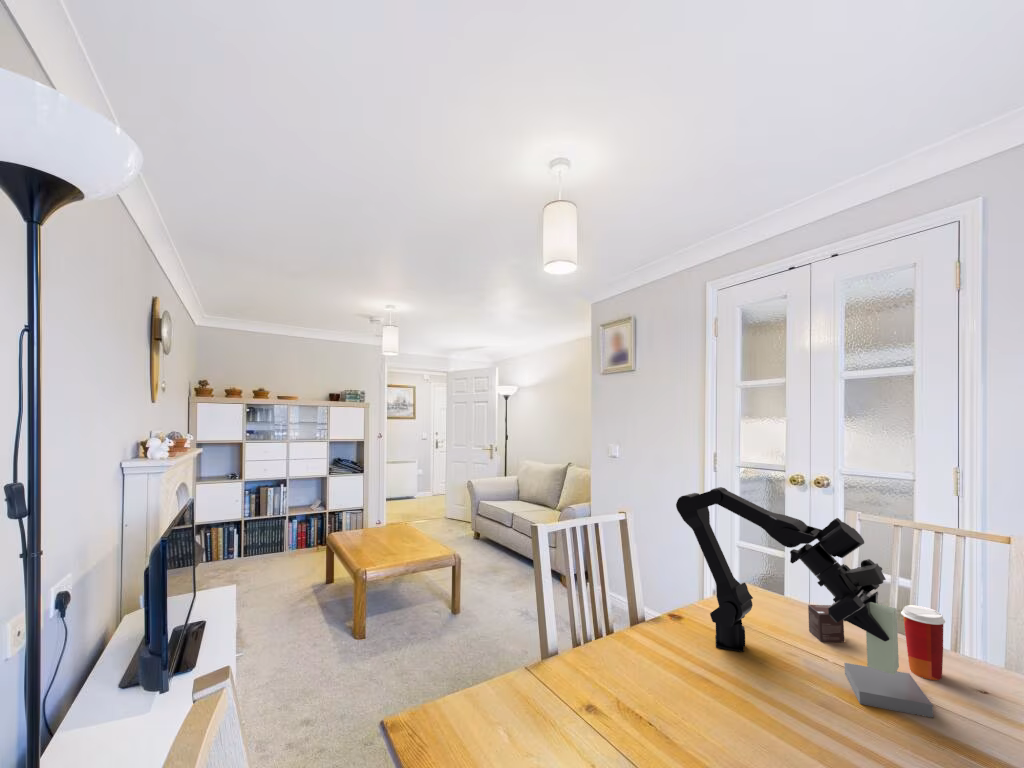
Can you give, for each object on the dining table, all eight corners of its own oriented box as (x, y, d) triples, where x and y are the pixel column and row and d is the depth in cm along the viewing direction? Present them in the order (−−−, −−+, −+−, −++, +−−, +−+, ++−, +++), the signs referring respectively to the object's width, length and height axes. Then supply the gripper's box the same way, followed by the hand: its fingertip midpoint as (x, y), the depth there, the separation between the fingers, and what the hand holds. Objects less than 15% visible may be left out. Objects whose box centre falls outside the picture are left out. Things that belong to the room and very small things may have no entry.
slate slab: (859, 703, 98) (859, 691, 98) (844, 673, 109) (844, 662, 110) (933, 717, 94) (932, 704, 94) (909, 685, 105) (909, 673, 105)
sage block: (867, 666, 100) (865, 607, 101) (872, 658, 103) (870, 601, 104) (894, 675, 97) (892, 614, 97) (898, 666, 100) (896, 608, 100)
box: (832, 632, 130) (831, 604, 130) (845, 643, 124) (844, 614, 124) (808, 631, 130) (807, 604, 131) (820, 642, 124) (819, 613, 125)
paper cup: (937, 667, 112) (934, 606, 112) (955, 685, 104) (952, 620, 105) (897, 662, 114) (894, 602, 115) (912, 679, 107) (909, 615, 108)
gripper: (844, 558, 98) (917, 632, 89) (866, 540, 110) (931, 604, 102) (802, 587, 103) (867, 659, 94) (827, 567, 116) (886, 629, 107)
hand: (889, 636), depth 99 cm, fingers closed on sage block, 4 cm apart
